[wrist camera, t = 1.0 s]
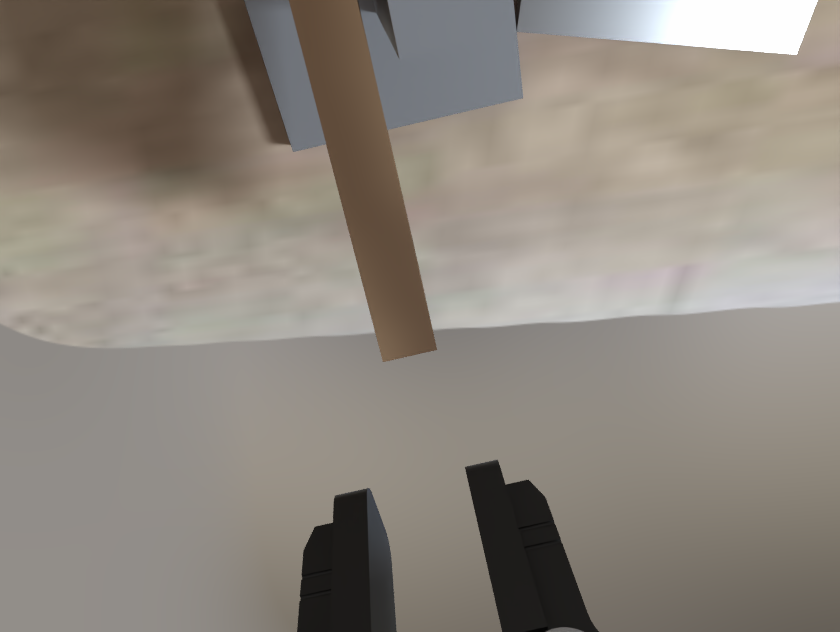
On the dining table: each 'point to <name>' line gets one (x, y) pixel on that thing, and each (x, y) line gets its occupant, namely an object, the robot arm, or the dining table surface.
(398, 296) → the picture frame
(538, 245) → the dining table surface
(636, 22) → the play button award
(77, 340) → the dining table surface
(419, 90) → the display stand
